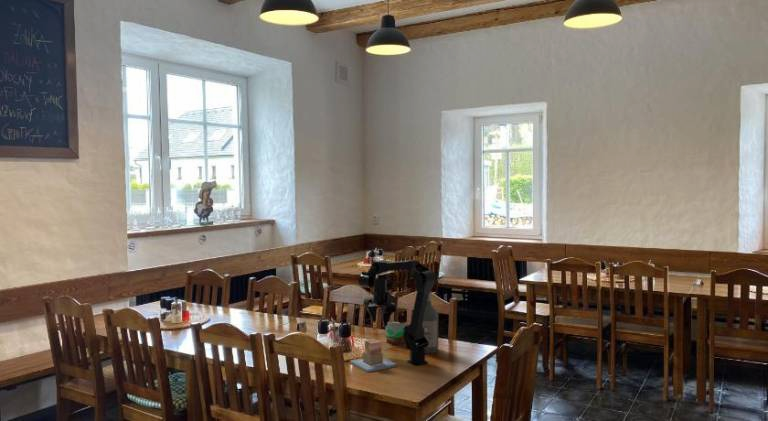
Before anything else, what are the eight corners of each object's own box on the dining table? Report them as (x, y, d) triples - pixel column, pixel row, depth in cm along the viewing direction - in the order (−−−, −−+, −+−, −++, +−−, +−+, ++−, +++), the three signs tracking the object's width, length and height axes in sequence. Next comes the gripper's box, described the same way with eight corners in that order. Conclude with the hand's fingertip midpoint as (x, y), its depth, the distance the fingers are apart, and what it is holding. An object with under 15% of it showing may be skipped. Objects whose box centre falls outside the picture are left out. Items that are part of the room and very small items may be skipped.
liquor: (436, 353, 266) (436, 286, 264) (415, 352, 268) (415, 285, 266) (438, 347, 275) (438, 282, 273) (418, 346, 277) (418, 281, 275)
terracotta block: (381, 353, 250) (381, 341, 250) (371, 355, 248) (371, 343, 247) (374, 350, 254) (374, 338, 254) (364, 352, 252) (364, 340, 251)
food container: (379, 342, 283) (379, 321, 283) (385, 339, 289) (385, 319, 288) (402, 346, 278) (402, 324, 277) (408, 343, 283) (408, 321, 282)
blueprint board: (396, 366, 249) (396, 354, 249) (367, 372, 242) (367, 360, 241) (378, 357, 261) (378, 346, 261) (350, 363, 253) (349, 351, 253)
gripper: (406, 290, 262) (407, 326, 263) (383, 283, 278) (383, 317, 279) (385, 293, 256) (385, 329, 257) (362, 286, 272) (363, 320, 273)
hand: (379, 324), depth 266 cm, fingers open, 9 cm apart
